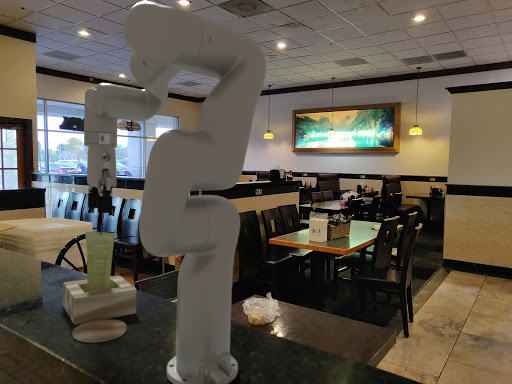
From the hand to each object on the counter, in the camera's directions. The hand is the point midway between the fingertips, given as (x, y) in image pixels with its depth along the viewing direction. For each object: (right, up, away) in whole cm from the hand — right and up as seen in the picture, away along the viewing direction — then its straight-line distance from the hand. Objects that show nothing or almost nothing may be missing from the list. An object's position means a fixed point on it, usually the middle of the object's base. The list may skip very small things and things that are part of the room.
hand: (99, 210), depth 96 cm
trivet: (+5, -26, -11) cm, 29 cm away
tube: (-1, -25, +1) cm, 25 cm away
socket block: (-1, -25, +1) cm, 25 cm away
